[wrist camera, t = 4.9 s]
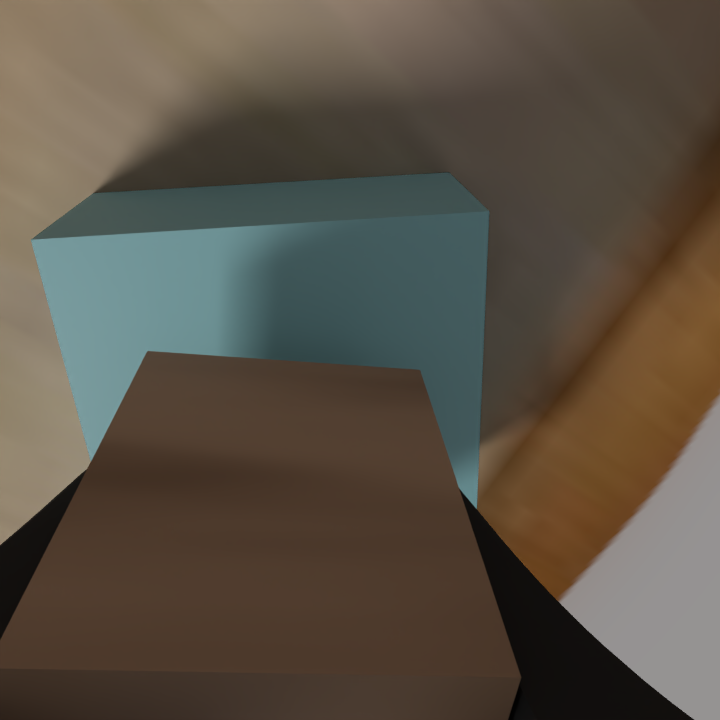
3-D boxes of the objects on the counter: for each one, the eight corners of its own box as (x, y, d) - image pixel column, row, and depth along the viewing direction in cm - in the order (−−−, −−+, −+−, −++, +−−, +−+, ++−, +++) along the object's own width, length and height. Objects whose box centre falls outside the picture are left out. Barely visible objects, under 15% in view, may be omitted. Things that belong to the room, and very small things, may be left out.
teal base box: (442, 456, 19) (475, 555, 15) (159, 479, 19) (124, 585, 15) (446, 169, 15) (489, 211, 12) (96, 190, 15) (31, 239, 11)
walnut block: (386, 570, 13) (438, 939, 8) (153, 562, 13) (40, 951, 7) (420, 370, 11) (521, 677, 6) (146, 350, 11) (-14, 668, 5)
